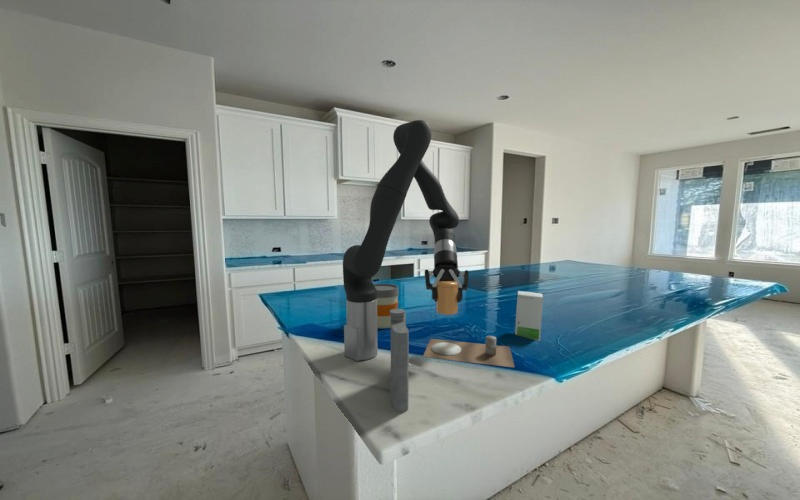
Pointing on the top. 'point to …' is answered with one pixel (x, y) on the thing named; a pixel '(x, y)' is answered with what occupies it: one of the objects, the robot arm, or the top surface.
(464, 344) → the post board
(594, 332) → the top surface
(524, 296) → the skincare box
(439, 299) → the cap
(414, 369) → the top surface
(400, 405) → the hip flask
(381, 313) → the reusable coffee cup
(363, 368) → the top surface
